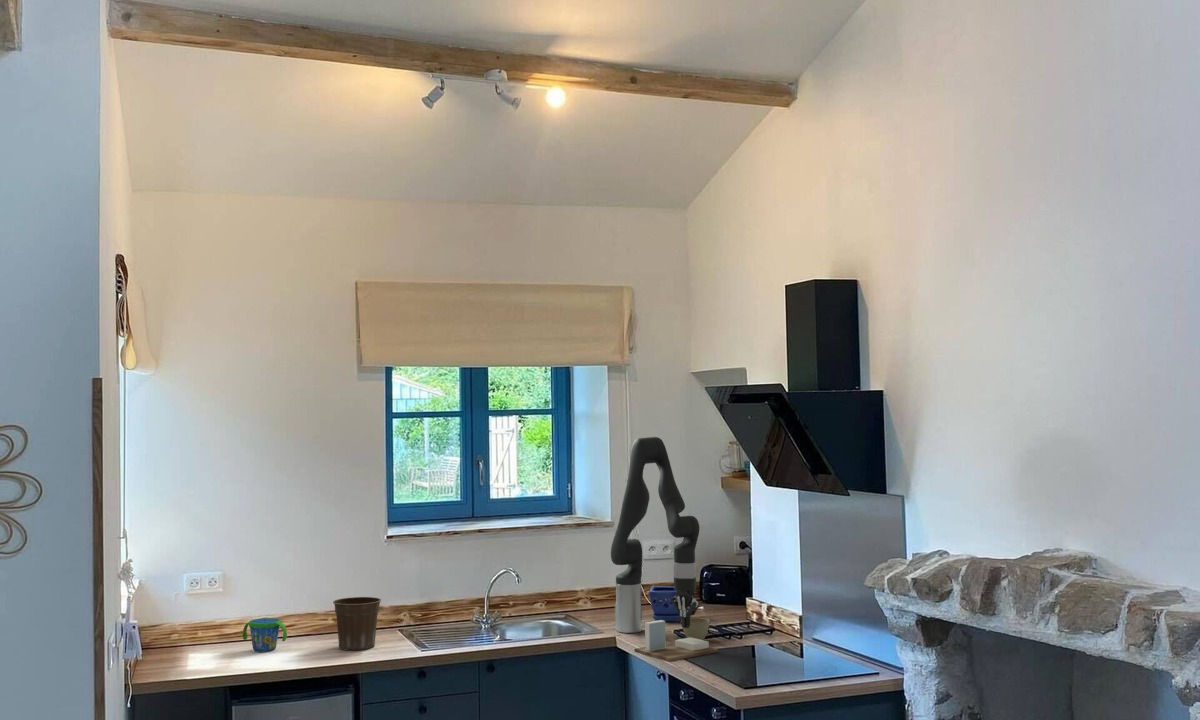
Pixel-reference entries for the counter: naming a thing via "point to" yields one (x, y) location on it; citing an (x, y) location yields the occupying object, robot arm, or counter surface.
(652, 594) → the flower pot
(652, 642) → the tile near
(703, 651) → the board
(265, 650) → the snack cup
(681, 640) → the tile far
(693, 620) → the flower pot
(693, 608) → the robot arm
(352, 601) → the plant pot
